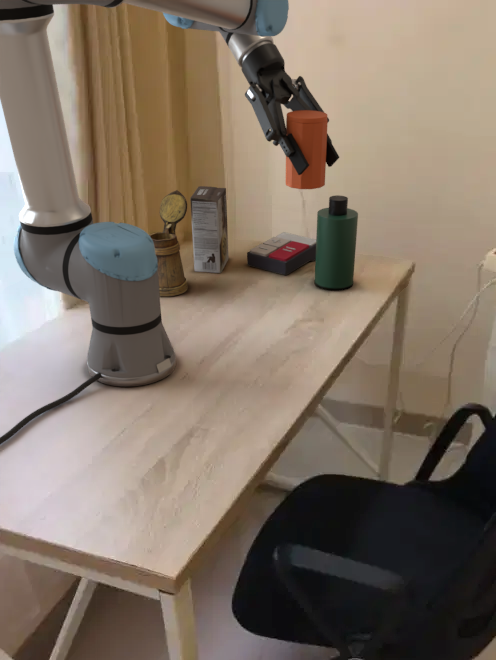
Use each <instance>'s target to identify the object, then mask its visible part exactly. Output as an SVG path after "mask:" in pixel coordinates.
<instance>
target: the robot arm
mask: <svg viewBox="0 0 496 660" xmlns="http://www.w3.org/2000/svg"><path fill="white" fill-rule="evenodd" d="M123 4H126V5H130V6H134V7H138V8H142V9H147V10H149V11H150V10H151V11H155V12H159V13H162V15H163V17H164V18H165V21H166V22H167V23H169V24H170V25H171V26H174V27H177V28H181V30H185V29H186V30H189V29H190V30H198V31H210V32H218V33H219V34H220V35H221V37H222V38H223V40H224V42H225V43H226V46H227V47H228V49H229V50H230V52H231V54H232V56H233V57H234V60H235V61H236V63H237V64H238V67H239V68H241V71H242V74H243V76H244V77H245V80H246V81H247V83H248V85H249V87H248V88H247V90H246V91H245V93H244V97H245V98H246V100H247V101H248V102H249V103H250V105H251V107H252V109H253V111H254V114H255V116H256V119H257V121H258V124H259V126H260V128H261V130H262V133H263V135H264V137H265V140H266V141H268V142H272V144H273V146H275V147H278V146H280V148H281V150H282V152H283V153H284V155H285V157H286V156H287V157H289V159H290V161H291V163H292V164H293V166H294V168H295V170H296V171H297V173H298V175H301V174H302V173H303V172H304V171H305V170H306V169H307V167H308V166H309V164H308V162H307V160H306V158H305V157H304V155H303V153H302V151H301V149H300V148H299V146H298V144H297V142H296V141H295V139H294V137H293V135H292V133H291V134H288V135H286V134H287V130H286V122H285V121H286V120H285V117H284V112H283V108H282V105H283V106H284V107H285V108H286V109H287V110H289V109H290V110H291V112H292V111H300V110H311V111H320V112H324V113H325V111H324V110H323V108H322V107H321V105H320V103H318V101H317V100H316V98H315V97H314V95H313V93H312V92H311V91H310V89H309V88H308V86H307V84H306V81H305V79H304V77H303V76H302V75H299V76H298V77H297V78H296V79H295V78H291V76H290V75H289V74H288V73H287V71H286V70H285V63H286V62H285V59H284V57H283V55H282V54H281V52H280V50H279V49H278V47H277V45H276V44H275V42H274V39H273V37H276V36H279V34H281V33H282V31H283V30H284V29H285V27H286V25H287V22H288V19H289V10H290V7H289V6H290V4H289V0H0V103H1V108H2V113H3V116H4V120H5V125H6V129H7V133H8V137H9V141H10V145H11V148H12V153H13V158H14V162H15V167H16V170H17V175H18V179H19V183H20V187H21V191H22V195H23V199H24V207H23V208H22V209H21V210H20V212H19V214H18V217H19V224H18V226H17V228H16V233H17V234H16V236H14V237H13V253H14V257H15V260H16V263H17V265H18V267H19V268H20V270H21V272H22V273H23V274H24V275H25V276H26V277H27V278H28V279H29V280H31V281H32V282H34V283H37V284H38V285H39V286H41V287H43V288H46V290H50V291H54V292H59V293H62V294H64V295H67V296H70V297H72V298H75V299H78V300H82V301H85V302H87V303H88V307H89V315H90V321H91V326H92V327H91V334H90V340H89V345H88V350H87V356H86V366H87V371H88V374H89V375H90V378H88V379H87V380H85V381H84V382H83V383H81V384H80V385H79V386H77V387H75V389H73V390H71V392H68V394H66V395H65V396H62V397H60V398H58V399H56V400H54V401H52V402H50V403H48V404H44V405H43V406H41V407H39V408H38V409H36V410H34V411H33V412H31V413H30V414H28V415H26V416H25V417H24V418H22V419H21V420H20V421H19V422H18V423H16V424H15V425H14V426H13V427H12V428H11V429H10V430H8V431H7V432H5V433H4V434H3V435H2V436H0V445H2V444H3V443H4V442H7V441H8V440H9V439H10V438H12V437H13V436H14V435H15V434H17V433H18V432H19V431H20V430H21V429H22V428H24V427H25V426H26V425H28V424H29V423H30V422H31V421H32V420H34V419H36V418H37V417H39V416H40V415H42V414H44V413H46V412H48V411H50V410H52V409H54V408H56V407H59V406H61V405H62V404H65V403H67V402H68V401H70V400H71V399H73V398H75V397H77V395H79V394H80V393H82V392H83V391H84V390H85V389H87V388H88V387H89V386H91V385H92V384H93V383H95V382H96V381H97V382H99V383H102V384H103V385H104V384H105V385H107V386H114V387H125V388H127V387H139V386H146V385H150V384H153V383H156V382H159V381H161V380H163V379H165V378H167V377H168V376H170V375H171V374H172V373H173V372H174V370H175V369H176V366H177V358H176V357H177V356H176V351H175V348H174V346H173V345H172V342H171V340H170V338H169V335H168V333H167V331H166V329H165V326H164V325H163V324H164V323H163V320H162V307H161V296H160V293H159V279H158V263H157V261H158V260H157V257H156V254H155V248H154V243H153V240H152V239H151V237H150V236H149V233H148V232H147V231H145V230H144V229H143V228H140V227H138V226H136V225H133V224H130V223H126V222H118V223H117V222H115V221H100V222H95V223H94V219H93V214H92V209H91V206H90V205H89V204H88V203H86V202H85V201H84V200H83V199H81V198H80V196H79V190H78V186H77V185H78V184H77V181H76V175H75V170H74V165H73V160H72V154H71V150H70V143H69V140H68V139H69V138H68V134H67V129H66V123H65V119H64V118H65V117H64V114H63V107H62V103H61V98H60V97H61V96H60V94H59V93H60V92H59V89H58V83H57V77H56V72H55V67H54V62H53V57H52V52H51V46H50V42H49V41H50V40H49V36H48V31H47V29H48V26H49V24H50V22H51V21H52V19H53V17H55V9H54V5H91V6H99V7H103V8H107V9H114V8H117V7H119V6H121V5H123ZM327 120H328V123H329V122H330V119H329V116H327ZM332 141H333V140H332V139H331V137H330V135H329V134H328V133H327V146H326V166H327V167H328V168H330V167H332V166H333V165H334V164H335V163H336V162H337V161H338V160H339V159H340V156H339V154H338V152H337V150H336V148H335V146H334V145H333V142H332Z"/></svg>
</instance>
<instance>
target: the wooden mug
mask: <svg viewBox="0 0 496 660" xmlns="http://www.w3.org/2000/svg"><path fill="white" fill-rule="evenodd" d="M187 212H188V201H187V198H186V197H185V196H184V195H183V193H182V192H180V191H179V189H176V190H173V191H171V192H169V193H168V194H167V195H165V196H164V197H163V198H162V200H161V202H160V206H159V216H160V219H161V220H162V222H163V223H164V224H163V229H162V231H161V232H159V231H158V232H152V233H148V235H149V236H150V237H151V239H152V240H153V243H154V248H155V254H156V257H157V260H158V261H157V263H158V279H159V293H160V297H174V296H178V295H182V294H184V293H185V292H187V290H188V289H189V288H188V281H187V278H186V277H185V272H184V271H185V270H184V267H183V261H182V256H181V251H180V250H181V245H180V241H179V240H178V236H177V235H176V229H177V224H178V223H180V222H181V221H182V220H183V219H184V218H185V217H186V214H187Z"/></svg>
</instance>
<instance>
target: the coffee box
mask: <svg viewBox="0 0 496 660" xmlns="http://www.w3.org/2000/svg"><path fill="white" fill-rule="evenodd" d="M189 200H190V215H191V216H190V217H191V233H192V250H193V252H192V253H193V265H194V267H193V268H194V272H200V273H211V274H212V273H213V274H222V272H223V270H224V268H225V266H226V265H227V263H228V261H229V259H230V258H229V257H230V256H229V234H228V233H229V232H228V206H227V202H228V201H227V188H226V187H216V186H205V185H203V186H202V185H199V186H198V187H197V188H196V190H194V192H193V193H192V195H191V196H190V198H189Z"/></svg>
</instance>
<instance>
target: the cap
mask: <svg viewBox="0 0 496 660" xmlns="http://www.w3.org/2000/svg"><path fill="white" fill-rule="evenodd" d="M327 117H328V113H327V112H325V111H324V112H320V111H311V110H300V111H292V110H291V111H289V112H287V113H286V120H285V121H286V122H285V126H286V130H287V134H286V135H288V134H291V133H292V135H293V137H294V139H295V141H296V142H297V144H298V146H299V148H300V149H301V151H302V153H303V155H304V157H305V158H306V160H307V162H308V164H309V166H308V167H307V169H306V170H305V171H304V172H303V173H302V174H301V175H298V173H297V171H296V170H295V168H294V166H293V164H292V163H291V161H290V159H289V157H287V156H286V155H285V186H286V187H289V188H291V189H298V190H315V189H316V190H317V189H321V188H322V187H325V185H326V169H327V168H326V166H327V163H326V146H327V134H328V124H329V122H328V120H327Z"/></svg>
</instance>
